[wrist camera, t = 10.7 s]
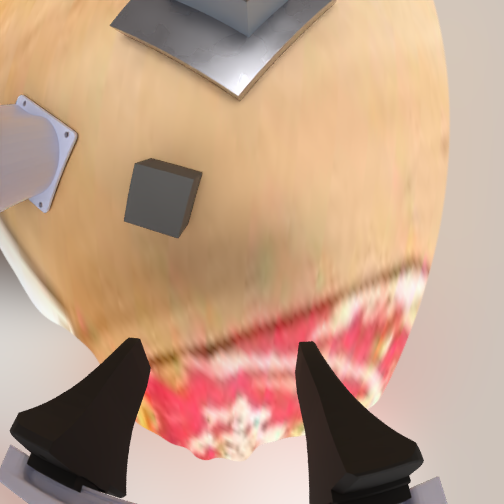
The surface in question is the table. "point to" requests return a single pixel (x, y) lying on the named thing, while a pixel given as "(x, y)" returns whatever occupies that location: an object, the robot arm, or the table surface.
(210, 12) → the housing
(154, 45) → the stand
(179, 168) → the rubber block
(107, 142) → the table surface
